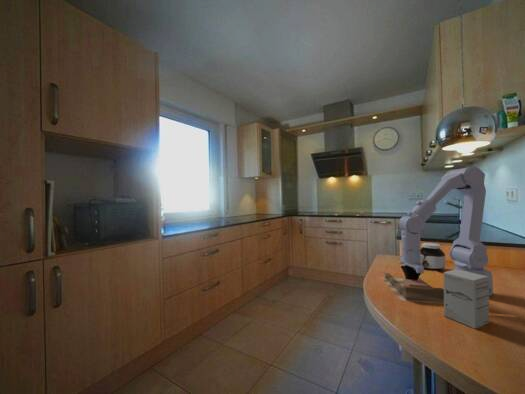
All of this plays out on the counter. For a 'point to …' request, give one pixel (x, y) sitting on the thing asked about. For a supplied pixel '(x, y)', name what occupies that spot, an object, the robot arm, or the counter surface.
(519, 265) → the counter surface
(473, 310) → the supplement box
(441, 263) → the spread jar
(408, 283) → the block
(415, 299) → the channel
